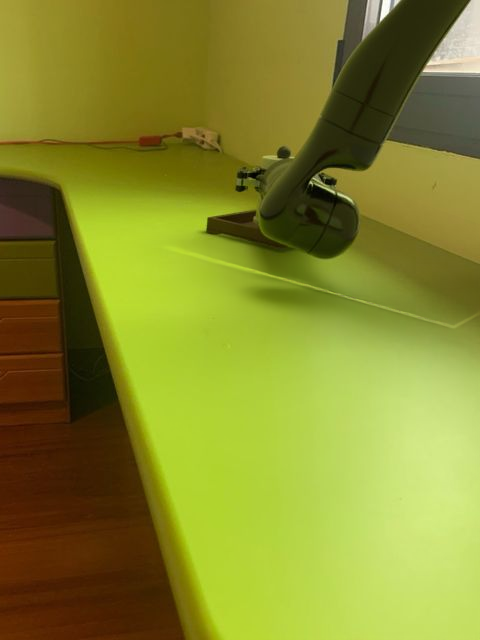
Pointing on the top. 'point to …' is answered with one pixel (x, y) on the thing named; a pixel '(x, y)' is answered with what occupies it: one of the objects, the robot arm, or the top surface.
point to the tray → (240, 227)
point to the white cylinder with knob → (267, 162)
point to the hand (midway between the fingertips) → (278, 175)
